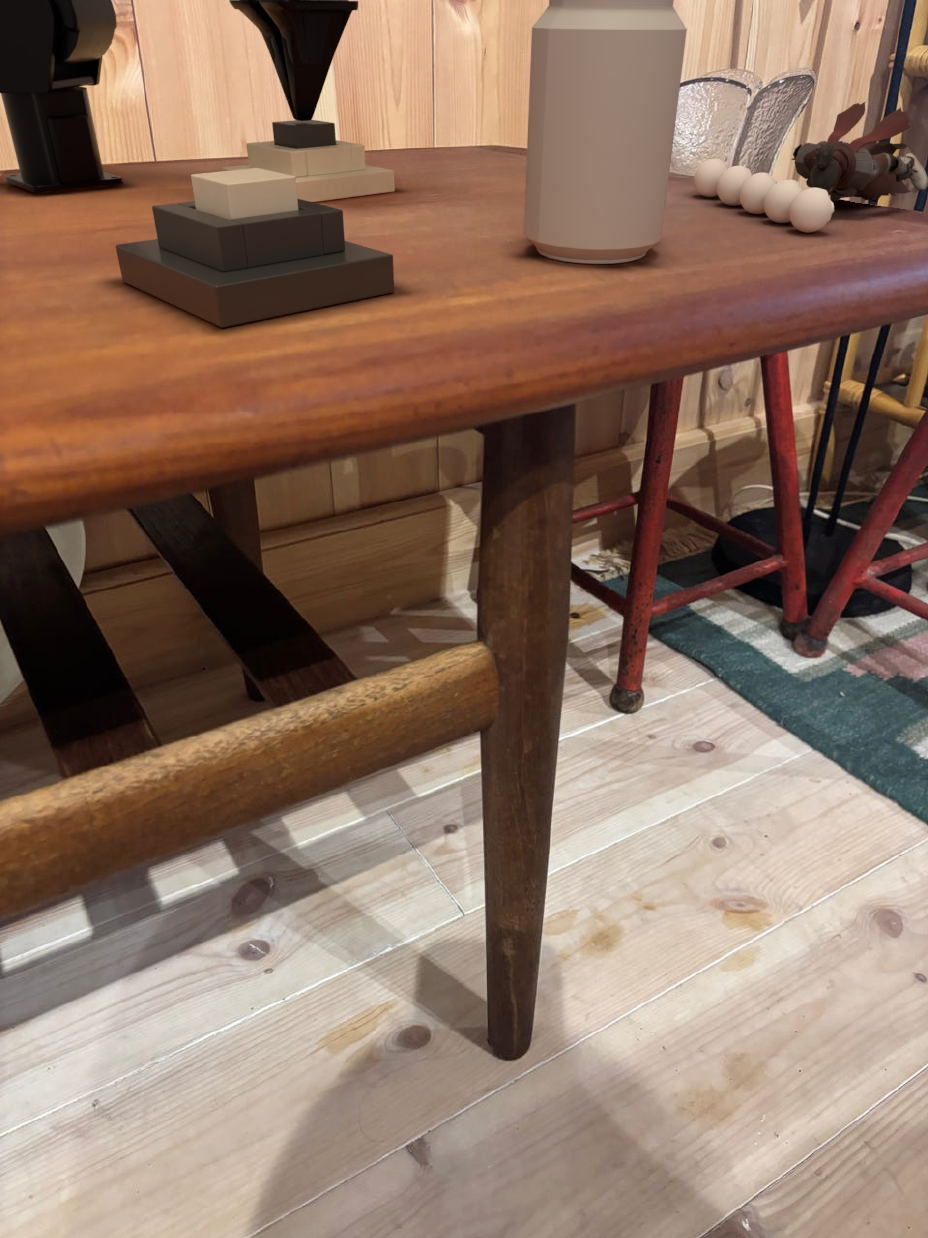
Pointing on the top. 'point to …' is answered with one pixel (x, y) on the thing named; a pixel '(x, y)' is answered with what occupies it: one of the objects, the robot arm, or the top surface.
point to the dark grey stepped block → (253, 263)
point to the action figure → (860, 160)
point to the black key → (304, 134)
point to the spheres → (765, 195)
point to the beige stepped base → (322, 169)
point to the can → (601, 127)
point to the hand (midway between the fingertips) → (303, 120)
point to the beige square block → (244, 193)
